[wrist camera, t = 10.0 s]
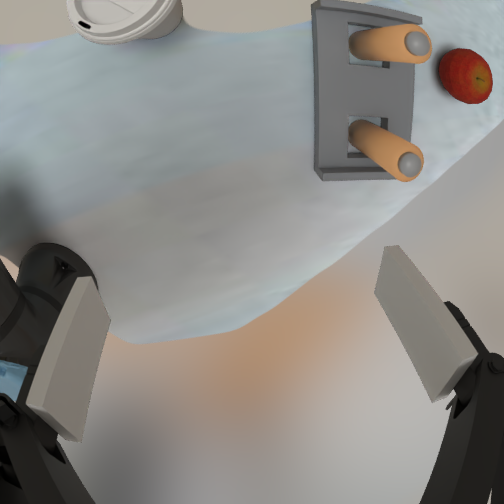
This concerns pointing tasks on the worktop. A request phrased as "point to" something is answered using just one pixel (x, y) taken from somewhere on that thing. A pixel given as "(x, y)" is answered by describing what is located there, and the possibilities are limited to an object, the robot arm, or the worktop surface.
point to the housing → (362, 81)
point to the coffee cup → (123, 19)
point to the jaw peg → (387, 150)
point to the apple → (466, 76)
